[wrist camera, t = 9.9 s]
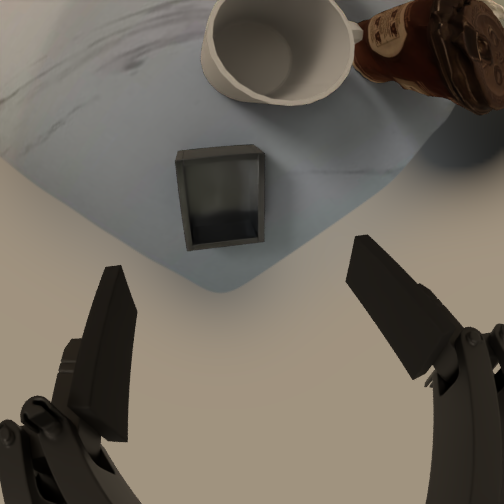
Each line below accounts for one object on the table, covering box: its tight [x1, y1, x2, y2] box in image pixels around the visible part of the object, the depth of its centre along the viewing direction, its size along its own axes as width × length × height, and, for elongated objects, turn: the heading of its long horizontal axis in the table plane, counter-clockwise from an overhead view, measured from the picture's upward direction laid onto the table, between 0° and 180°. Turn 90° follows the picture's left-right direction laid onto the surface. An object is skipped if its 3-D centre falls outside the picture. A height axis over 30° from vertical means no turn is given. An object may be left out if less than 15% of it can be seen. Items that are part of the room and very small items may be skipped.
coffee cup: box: [352, 0, 504, 115], centre depth 12 cm, size 9×8×13 cm
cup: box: [201, 0, 363, 106], centre depth 13 cm, size 7×10×9 cm
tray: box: [175, 144, 265, 251], centre depth 20 cm, size 6×7×4 cm
